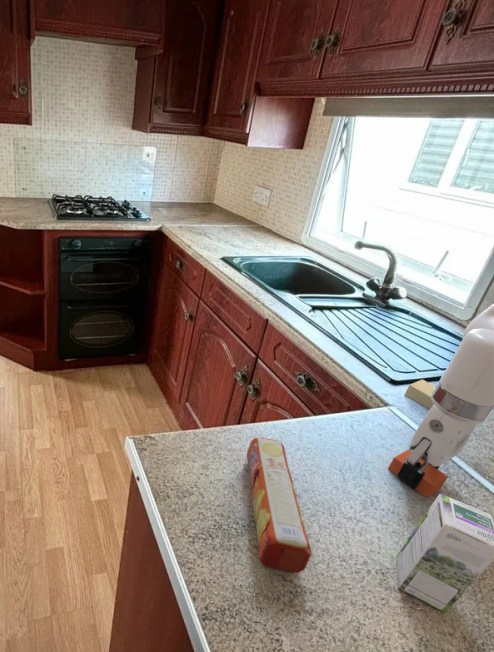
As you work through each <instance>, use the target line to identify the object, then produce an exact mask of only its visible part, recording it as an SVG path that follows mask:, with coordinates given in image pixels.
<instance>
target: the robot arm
mask: <svg viewBox="0 0 494 652" xmlns="http://www.w3.org/2000/svg"><path fill="white" fill-rule="evenodd" d="M435 387H436V388H435V389H434V391H433V393H432V395H431V400H432V402H433V403H434V405H433V406H432V407H431V409H428V412H426V414H425V416H424V417H423V419H422V421H421V423H420V424H419V425H418V427H417V428H416V431H414V434H413V436H412V437H411V439H410V441H409V444H408V449H409V450H410V451H412V452H411V454H410V455H409V456H408V457H407V459H406V461H405V462H404V464H403V466H402V468H401V469H400V471H399V473H398V475H396V477H397V478H398V479H399V480H400V481H401V482H403V483H404V484H406V485H407V486H408V487H410V488H411V489H412V490H416V489H415V488H417V486H418V485H419V483H420V481H421V480H422V478H423V477H424V475H425V473H424V471H425V469H426V468H427V467H428V465H429V464H431V465H432V466H433V467H435V468H436V469H438V470H439V468H440V467H441V466H442V465H443V464H445V463H447V462H448V461H450V460H452V459H453V458H454V457H456V456H458V455H459V454H460V453H461V452H462V451H463V449H464V448H465V446H466V444H467V442H468V440H469V439H470V437H471V435H472V433H473V432H474V430H475V428H476V426H477V424H480V423H484V422H485V421H486V419H487V418H488V416H489V415H490V413H491V412H492V410H493V408H494V303H493V304H491V305H490V306H488V307H487V308H485V309H484V310H483V311H482V312H480V313H479V314H478V315H477V316H475V317H474V318H473V319H472V320H471V321H470V323H469V324H468V325H467V326H466V327H465V329H464V331H463V334H462V340H461V341H460V343H459V345H458V346H457V348H456V350H455V353H454V354H453V356H452V357H451V359H450V361H449V363H448V365H447V367H446V368H445V370H444V372H443V374H442V375H441V377H440V379H439V381H438V382H437V385H435ZM420 458H422V459H423V460H425V462H424V463H423V464H422V465H421V463H420V462H419V460H420Z"/></svg>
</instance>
